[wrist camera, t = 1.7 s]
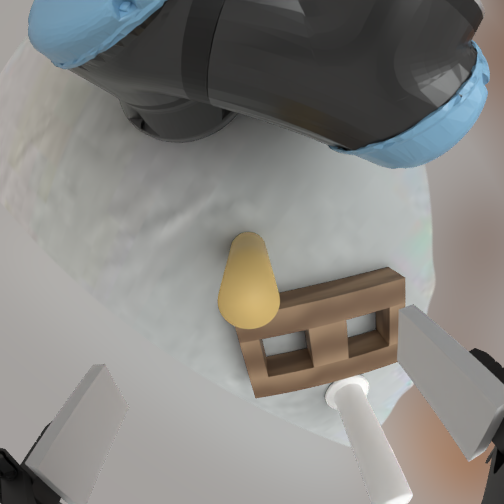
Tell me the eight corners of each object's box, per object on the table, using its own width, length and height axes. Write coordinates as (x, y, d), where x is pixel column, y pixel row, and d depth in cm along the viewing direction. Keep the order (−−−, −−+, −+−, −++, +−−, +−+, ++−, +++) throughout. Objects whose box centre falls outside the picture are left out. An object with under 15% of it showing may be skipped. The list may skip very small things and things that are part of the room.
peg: (227, 236, 32) (210, 279, 18) (262, 228, 32) (273, 266, 18) (235, 269, 33) (226, 333, 19) (268, 262, 33) (284, 322, 18)
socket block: (234, 301, 34) (232, 318, 30) (388, 266, 33) (405, 277, 29) (254, 377, 37) (255, 398, 33) (389, 343, 36) (402, 359, 32)
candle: (339, 412, 39) (383, 539, 15) (316, 393, 38) (357, 539, 14) (374, 388, 38) (439, 510, 14) (354, 366, 37) (425, 506, 13)
